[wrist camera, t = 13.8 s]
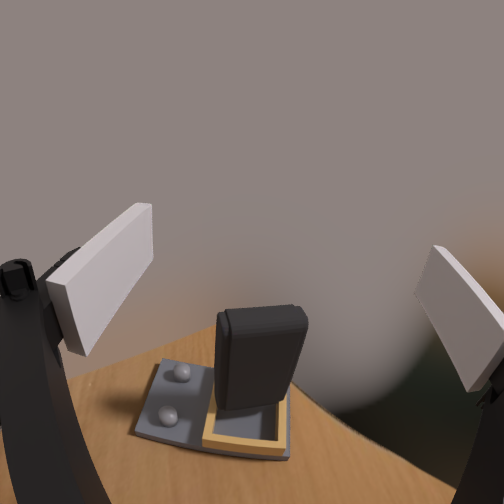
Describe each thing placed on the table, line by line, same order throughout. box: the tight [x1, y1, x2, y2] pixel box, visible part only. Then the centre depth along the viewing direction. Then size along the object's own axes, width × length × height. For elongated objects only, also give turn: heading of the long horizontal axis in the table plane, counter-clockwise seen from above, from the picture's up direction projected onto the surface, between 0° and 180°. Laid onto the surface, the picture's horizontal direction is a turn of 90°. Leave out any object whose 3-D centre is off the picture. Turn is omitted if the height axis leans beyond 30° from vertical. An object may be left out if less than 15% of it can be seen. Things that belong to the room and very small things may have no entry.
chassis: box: [135, 358, 290, 461], centre depth 37 cm, size 20×14×4 cm
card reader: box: [214, 304, 308, 411], centre depth 33 cm, size 9×4×15 cm, turn 105°
